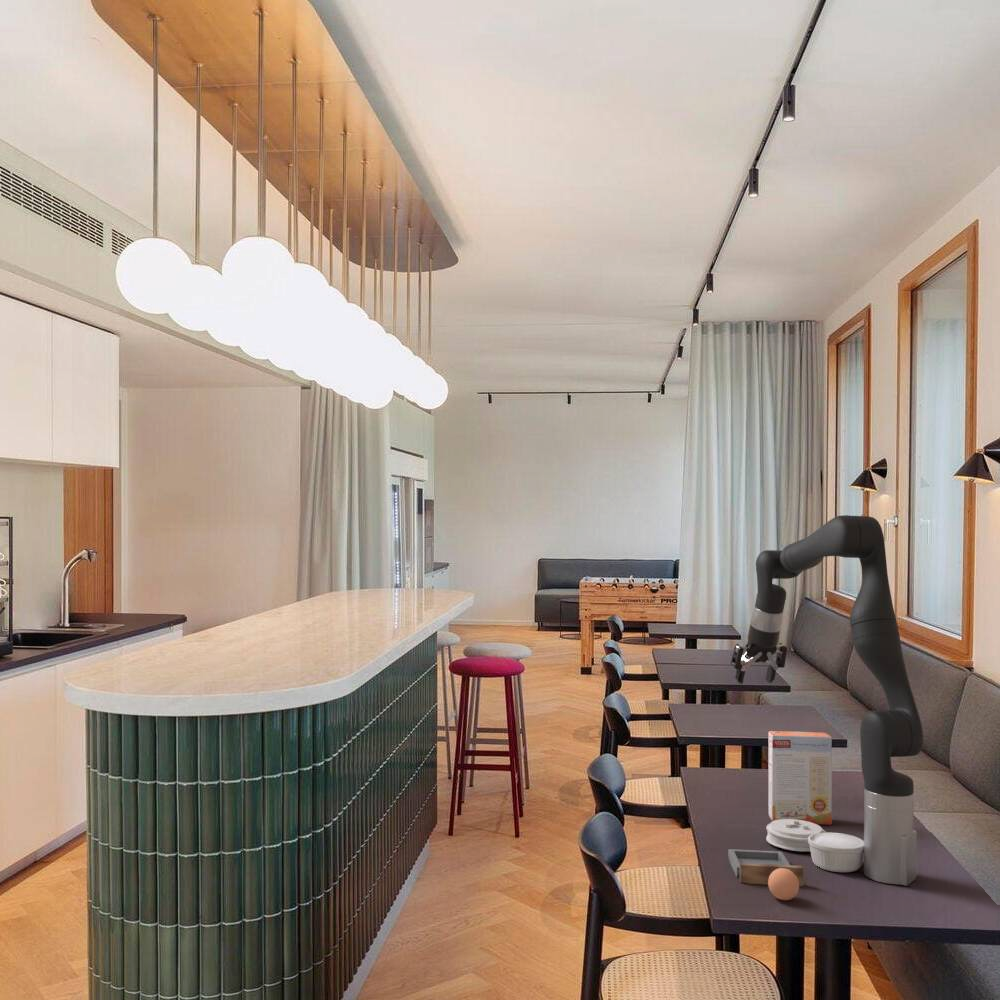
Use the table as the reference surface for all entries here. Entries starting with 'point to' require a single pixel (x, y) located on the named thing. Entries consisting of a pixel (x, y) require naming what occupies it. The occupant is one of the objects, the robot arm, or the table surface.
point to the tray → (754, 858)
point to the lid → (791, 833)
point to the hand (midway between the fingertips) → (754, 681)
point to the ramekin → (836, 851)
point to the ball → (783, 884)
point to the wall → (765, 872)
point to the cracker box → (800, 776)
